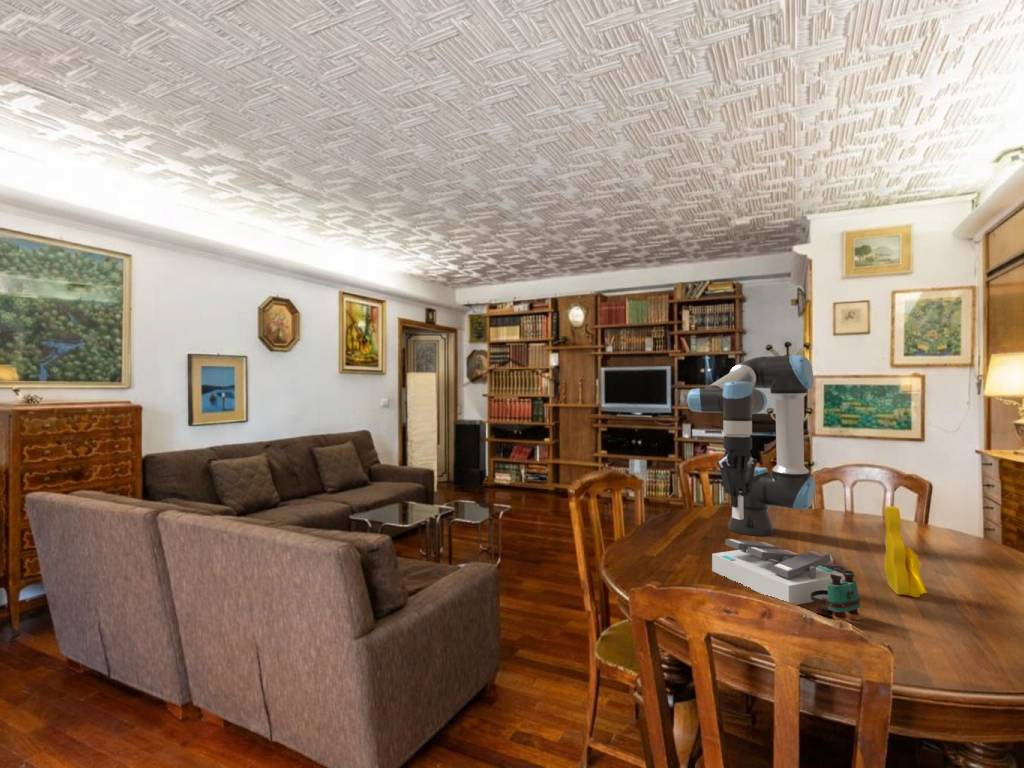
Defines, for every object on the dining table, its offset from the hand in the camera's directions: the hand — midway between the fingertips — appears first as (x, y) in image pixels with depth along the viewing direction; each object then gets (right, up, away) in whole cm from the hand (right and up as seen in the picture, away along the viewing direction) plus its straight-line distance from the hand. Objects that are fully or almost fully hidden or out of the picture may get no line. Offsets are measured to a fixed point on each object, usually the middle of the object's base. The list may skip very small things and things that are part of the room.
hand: (737, 518), depth 146 cm
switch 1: (+5, -9, +2) cm, 10 cm away
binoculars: (+11, -16, -26) cm, 32 cm away
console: (+8, -16, -6) cm, 19 cm away
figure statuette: (+37, -16, -13) cm, 43 cm away
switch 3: (+11, -8, -13) cm, 19 cm away
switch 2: (+8, -8, -6) cm, 13 cm away
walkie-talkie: (+26, -17, +2) cm, 31 cm away
